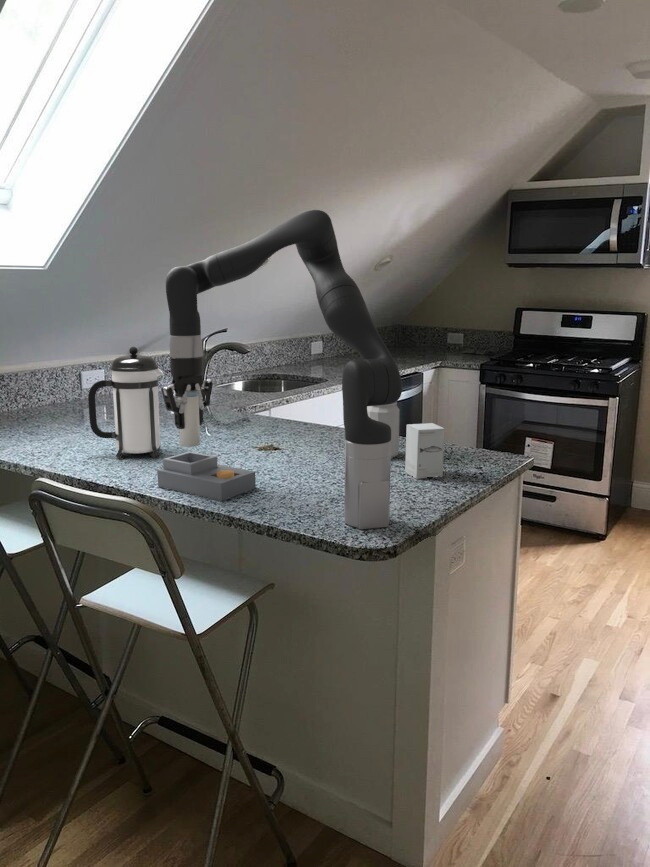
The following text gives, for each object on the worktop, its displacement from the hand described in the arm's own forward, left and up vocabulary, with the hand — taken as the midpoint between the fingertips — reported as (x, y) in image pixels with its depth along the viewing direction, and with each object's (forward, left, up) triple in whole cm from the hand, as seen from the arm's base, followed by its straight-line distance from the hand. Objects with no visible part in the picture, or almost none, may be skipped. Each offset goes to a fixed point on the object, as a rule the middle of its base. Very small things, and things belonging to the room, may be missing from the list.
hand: (189, 426), depth 174 cm
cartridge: (0, 0, -4) cm, 4 cm away
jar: (+14, -53, -14) cm, 57 cm away
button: (-8, -7, -13) cm, 17 cm away
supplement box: (-7, -57, -14) cm, 59 cm away
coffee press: (+33, +13, -14) cm, 38 cm away
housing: (-4, -3, -14) cm, 15 cm away
